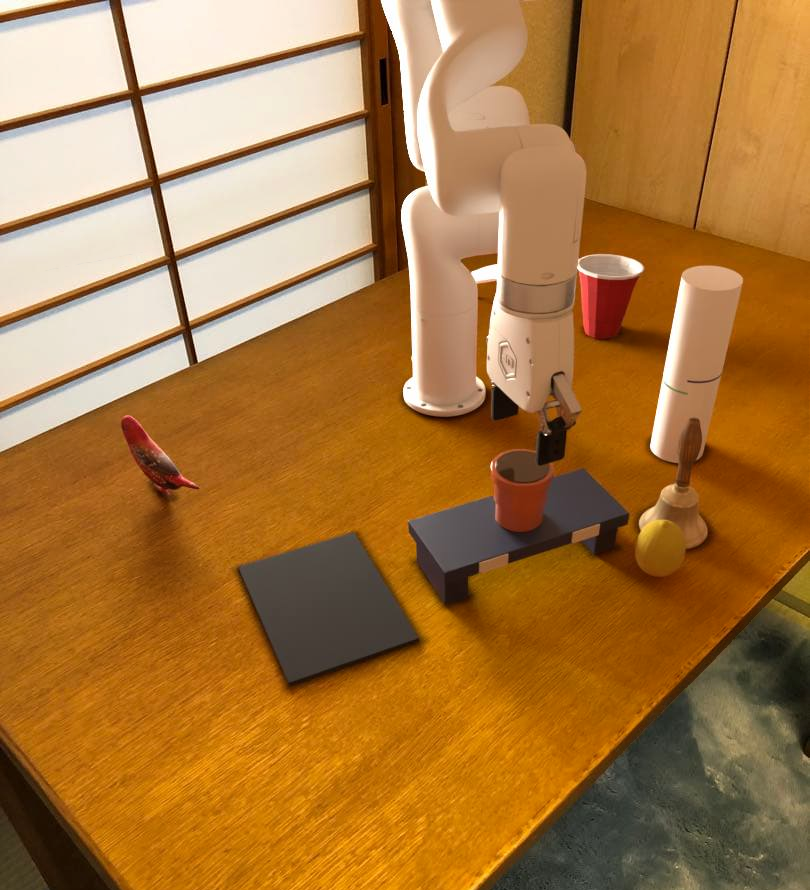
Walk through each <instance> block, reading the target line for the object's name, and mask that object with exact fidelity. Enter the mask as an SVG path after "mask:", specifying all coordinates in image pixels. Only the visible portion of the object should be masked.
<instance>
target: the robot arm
mask: <svg viewBox="0 0 810 890" xmlns="http://www.w3.org/2000/svg"><path fill="white" fill-rule="evenodd" d="M533 1H537V0H380V2H381V5H382V8H383V11H384V14H385V16H386V19H387V22H388V25H389V28H390V30H391V31H392V35H393V38H394V40H395V41H394V42H395V44H396V47H397V50H398V55H399V62H400V74H401V75H400V77H401V89H402V101H403V102H402V103H403V111H404V112H403V115H404V127H405V137H406V145H407V150H408V155H409V158H410V161H411V163H412V165H413V166H414V167H415V168H416V169H417V170H419V171H421V172H424V173H425V176H426V180H427V185H425V186H422V187H421V186H420V187H418V188H417V189H415V190H413V191H412V192H411V193H410V194H408V195H407V197H406V198H405V199H404V201H403V204H402V207H401V225H402V226H401V227H402V232H403V237H404V243H405V248H406V253H407V255H406V256H407V260H408V261H407V262H408V271H409V285H410V287H409V288H410V315H411V316H410V317H411V349H412V350H411V351H412V355H411V361H412V377H410V378H409V379H408V380H407V381H406V382H405V384H404V386H403V391H402V392H403V399H404V402H405V404H406V405H407V406H408V407H409V408H411V409H413V410H414V411H416V412H418V413H420V414H423V415H426V416H431V417H432V416H433V417H441V418H443V417H445V418H446V417H457V416H461V415H465V414H468V413H470V412H472V411H475V410H476V409H477V408H479V407H480V406H481V405H482V404H483V403H484V402H485V399H486V393H487V389H486V385H485V383H484V381H482V379H480V378H479V377H478V376H477V350H478V349H477V348H478V346H477V345H478V313H479V312H478V308H479V291H478V289H479V288H478V284H476V281H475V279H474V277H473V275H472V272H471V271H470V270H469V269H468V268H467V266H466V265H464V263H462V261H461V260H462V259H466V258H473V257H476V256H485V255H493V254H497V264H498V271H497V282H496V292H495V296H494V299H493V304H492V308H491V313H490V321H489V329H488V336H486V338H485V342H486V346H487V349H486V350H487V351H486V373H487V376H488V377H489V382H490V385H491V386H492V387H491V402H490V403H491V405H490V407H491V408H490V410H491V411H490V417H491V419H492V420H493V421H500V420H503V419H507V418H511V417H514V416H517V415H519V408H520V409H521V410H523V411H524V412H526V413H528V414H534V413H535V414H536V415H537V418H538V422H539V425H540V430H538V431H537V435H536V446H535V447H536V449H535V451H536V460H535V461H536V463H537V464H538V465H539V466H541V465H545V464H548V463H551V462H552V463H554V462H558V461H562V460H563V459H564V458H565V456H566V445H567V436H568V431H569V430H571V429H572V427H574V426H575V425H576V423H577V420H578V418H579V417H580V415H581V413H582V406H581V404H580V402H579V400H578V398H577V396H576V394H575V393H574V391H573V388H572V387H573V381H574V366H575V365H574V364H575V324H574V323H575V322H574V312H573V309H574V307H575V301H576V300H575V299H576V290H577V280H578V260H579V259H580V246H581V238H582V236H581V235H582V226H583V217H584V207H585V197H586V196H585V195H586V186H587V166H586V162H585V160H584V159H583V157H582V156H581V155H580V154H579V153H577V152H576V148H575V144H574V142H573V141H572V140H571V139H570V136H569V135H568V133H567V132H566V131H565V129H563V128H562V127H561V126H559V125H557V124H552V123H535V124H534V123H533V124H531V121H530V114H529V110H528V109H529V108H528V106H527V104H526V103H527V102H526V101H525V99H524V96H522V94H521V93H520V91H519V90H517V89H516V88H513V87H511V86H507V85H494V84H496V83H497V82H499V81H501V80H502V79H504V78H505V77H506V76H508V75H509V74H510V73H511V72H512V71H514V69H515V68H516V67H517V66H518V65H519V63H520V62H521V61H522V59H523V57H524V55H525V53H526V50H527V46H528V41H529V40H528V38H529V35H528V28H527V25H526V22H525V17H524V15H523V10H522V8H521V4H520V2H533ZM549 397H552V398H553V399H554V400H551V401H550V400H549V401H547V400H548V399H549ZM553 408H555V411H556V414H557V417H556V418H553V419H552V420H550V417H549V414H548V413H549V412H548V410H549V409H553Z"/></svg>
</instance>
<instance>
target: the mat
mask: <svg viewBox="0 0 810 890" xmlns="http://www.w3.org/2000/svg"><path fill="white" fill-rule="evenodd" d="M360 541H361V540H360V539H359V538H358V536H357V534H356V533H355V531H352V532H349V533H346V534H343V535H339V536H336V537H332V538H330V539H325V540H323V541H319V542H315V543H313V544H309V545H306V546H303V547H299V548H295V549H292V550H289V551H285V552H282V553H279V554H275V555H272V556H269V557H266V558H262V559H258V560H256V561H251V562H249V563H246V564H242V565H239V566H238V567H237V569H238V572H239V575H240V576H241V579H242V582H243V584H244V586H245V589H246V590H247V593H248V595H249V597H250V600H251V602H252V604H253V607H254V609H255V611H256V613H257V615H258V616H257V617H258V618H259V620H260V622H261V625H262V627H263V629H264V632H265V635H266V636H267V639H268V641H269V643H270V646H271V648H272V650H273V653H274V655H275V658H276V659H277V661H278V665H279V666H280V669H281V671H282V674H283V676H284V678H285V681H286V683H287V685H288V687H292V686H295V685H298V684H301V683H304V682H306V681H307V682H308V681H309V680H312V679H315V678H319V677H321V676H324V675H326V674H330V673H333V672H335V671H339V670H342V669H344V668H347V667H350V666H353V665H356V664H359V663H362V662H365V661H367V660H371V659H372V658H376V657H379V656H382V655H386V654H388V653H391V652H394V651H396V650H399V649H402V648H405V647H409V646H411V645H414V644H417V643H420V637H419V635H418V633H417V632H416V630H415V629H414V627H413V625H412V624H411V623H410V621H409V619H408V618H407V616H406V614H405V612H404V610H403V609H402V608H401V606H400V605H399V603H398V601H397V599H396V598H395V595H394V594H393V593H392V592H391V590H390V588H389V587H388V584H386V582H385V580H384V579H383V577H382V575H381V574H380V572H379V571H378V569H377V567H376V566H375V564H374V562H373V561H372V559H371V557H370V556H369V555H368V553H367V551H366V549H365V548H364V546H363V544H362V542H360Z"/></svg>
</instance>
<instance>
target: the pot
mask: <svg viewBox="0 0 810 890" xmlns="http://www.w3.org/2000/svg"><path fill="white" fill-rule="evenodd" d="M535 460H536V450H532V449H525V448H517V449H510V450H506V451H503V452H500V453H498V454H497V455H496V456H495V457H494V458H493V459H492V461H491V463H490V479H491V481H492V482H493V489H492V495H493V498H494V501H495V519H496V521H497V523H498V524H499V525H500V526H502V527H503V528H505V529H507V530H510V531H515V532H526V531H530V530H533V529H535V528H537V527H538V526H539V525H540V524H541V523H542V520H543V512H544V505H545V504H546V502H547V498H548V487H549V485H550V484H551V482H552V480H553V477H554V471H555V467H554V464H553V463H554V462H551V463H548V464H545V465H541V466H539V465H538V464H537V463H536V461H535Z"/></svg>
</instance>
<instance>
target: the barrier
mask: <svg viewBox="0 0 810 890" xmlns="http://www.w3.org/2000/svg"><path fill="white" fill-rule="evenodd" d="M629 519H630V512H629V511H628V510H627V509H626V508H625V507H624V506H623V505H622V504H621V503H620V502H619V501H618V500H617V499H616V498H615V497H614V496H613V495H612V494H611V493H610V492H609V491H608V490H607V489H605V487H604V486H602V484H601V483H600V482H599V481H598V480H597V479H595V477H593V476H592V475H591V474H590V473H589V472H588V471H587V470H586V468H584V467H583V468H579V469H576V470H575V469H574V470H572V471H569V472H566V473H561V474H560V475H556V476H553V480H552V482H551V484H550V485H549V487H548V498H547V502H546V504H545V505H544V512H543V520H542V523H541V524H540V525H539V526H538V527H537V528H535V529H533V530H530V531H526V532H515V531H510V530H507V529H505V528H503V527H502V526H500V525H499V524H498V523H497V521H496V519H495V501H494V498H493V494H492V495H490V496H486V497H483V498H480V499H476V500H473V501H470V502H466V503H463V504H458V505H456V506H452V507H449V508H447V509H443V510H439V511H436V512H433V513H430V514H425V515H422V516H420V517H416V518H413V519H410V520H407V524H408V525H407V526H408V528H407V529H408V534H409V535H410V537H411V538H412V539H413V541H414V542H415V548H416V550H415V551H416V564H417V565H418V566H419V568H420V569H421V571H422V572H423V574H424V576H425V577H426V579H427V580H428V581H429V583H430V584H431V586H432V587H433V589H434V591H435V592H436V593H437V595H438V596H439V598H440V599H441V601H442V602H443V604H444V605H447V604H450V603H454V602H457V601H459V600H462V599H466V598H468V597H469V578H470V577H472V576H475V575H481V574H484V573H488V572H490V571H494V570H497V569H499V568H502V567H505V566H506V567H507V566H508V565H509V564H511V563H515V562H517V561H521V560H524V559H528V558H531V557H533V556H536V555H540V554H543V553H546V552H548V551H552V550H554V549H557V548H561V547H564V546H566V545H569V544H576V543H579V542H582V543H583V544H584V545H585V546H586V548H587V549H588V550H589V551H590V552H591V553H592V554H593V555H597V554H600V553H602V552H605V551H609V550H612V549H615V548H616V543H617V537H618V530H619V528H622V527H624V526H627V525H628V524H629Z"/></svg>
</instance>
